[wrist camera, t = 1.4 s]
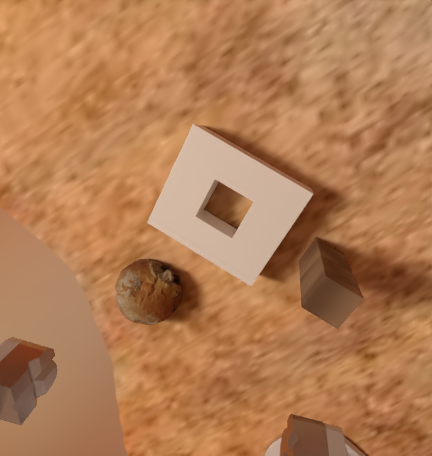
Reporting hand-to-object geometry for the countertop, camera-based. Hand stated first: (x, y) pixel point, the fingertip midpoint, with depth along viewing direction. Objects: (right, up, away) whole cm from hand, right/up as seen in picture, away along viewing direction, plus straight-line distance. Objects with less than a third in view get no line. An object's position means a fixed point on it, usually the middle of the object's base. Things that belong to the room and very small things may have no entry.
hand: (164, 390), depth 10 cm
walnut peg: (+16, +2, +30) cm, 34 cm away
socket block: (+4, +9, +31) cm, 32 cm away
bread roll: (-8, -4, +38) cm, 39 cm away
